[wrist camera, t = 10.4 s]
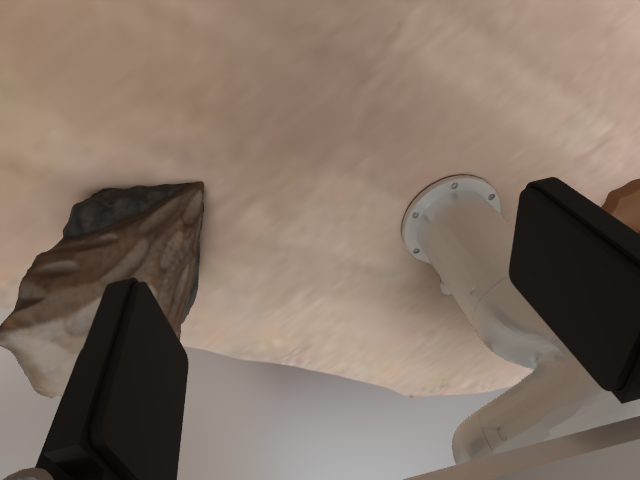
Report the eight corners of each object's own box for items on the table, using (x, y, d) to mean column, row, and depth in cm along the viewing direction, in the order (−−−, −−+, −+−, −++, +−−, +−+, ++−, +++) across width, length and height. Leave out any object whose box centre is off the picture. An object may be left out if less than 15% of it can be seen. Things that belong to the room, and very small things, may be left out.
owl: (198, 275, 49) (183, 430, 33) (82, 266, 46) (1, 435, 30) (209, 182, 43) (195, 319, 27) (74, 163, 39) (-36, 309, 23)
